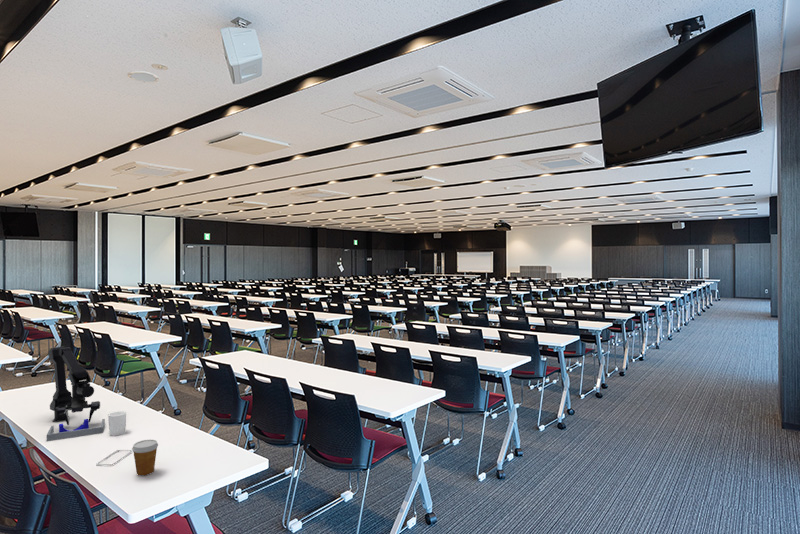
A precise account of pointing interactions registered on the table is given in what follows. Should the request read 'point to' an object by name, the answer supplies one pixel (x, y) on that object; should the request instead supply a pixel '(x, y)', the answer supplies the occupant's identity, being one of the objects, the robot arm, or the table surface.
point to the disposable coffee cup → (145, 456)
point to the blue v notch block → (83, 426)
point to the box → (74, 432)
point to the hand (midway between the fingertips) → (78, 423)
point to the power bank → (112, 454)
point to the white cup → (117, 422)
